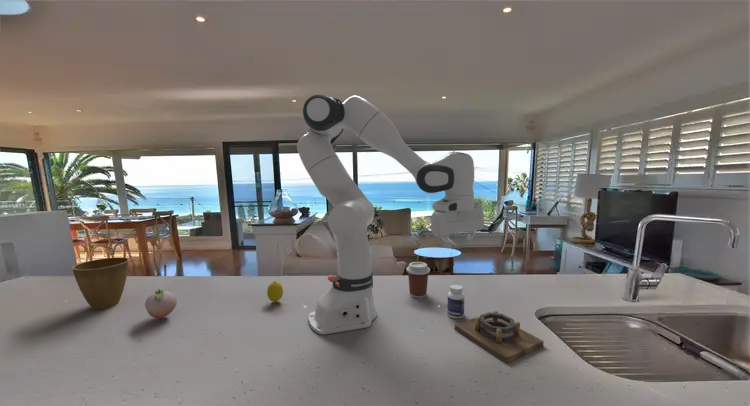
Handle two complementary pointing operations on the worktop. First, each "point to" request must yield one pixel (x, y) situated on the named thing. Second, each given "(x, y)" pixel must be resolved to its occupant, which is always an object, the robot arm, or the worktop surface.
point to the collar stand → (499, 336)
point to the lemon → (275, 291)
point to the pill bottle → (455, 302)
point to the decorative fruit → (160, 304)
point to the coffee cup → (418, 279)
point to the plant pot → (102, 281)
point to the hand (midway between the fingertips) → (458, 245)
